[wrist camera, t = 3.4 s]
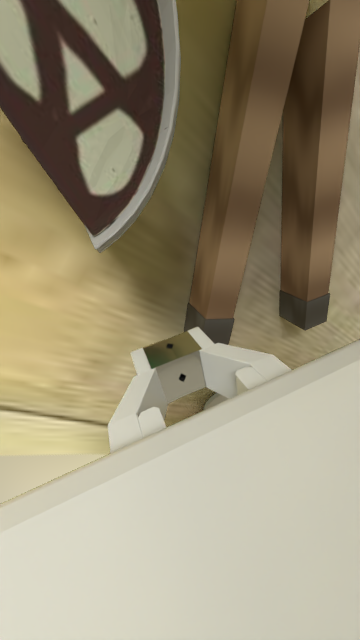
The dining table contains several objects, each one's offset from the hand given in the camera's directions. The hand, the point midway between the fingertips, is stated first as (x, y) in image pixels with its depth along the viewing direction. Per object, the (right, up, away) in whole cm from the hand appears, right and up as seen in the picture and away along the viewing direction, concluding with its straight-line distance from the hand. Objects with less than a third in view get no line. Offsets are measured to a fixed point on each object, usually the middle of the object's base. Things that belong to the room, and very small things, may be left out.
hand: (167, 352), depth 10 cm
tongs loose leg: (+5, +12, +8) cm, 15 cm away
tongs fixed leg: (+10, +11, +11) cm, 19 cm away
